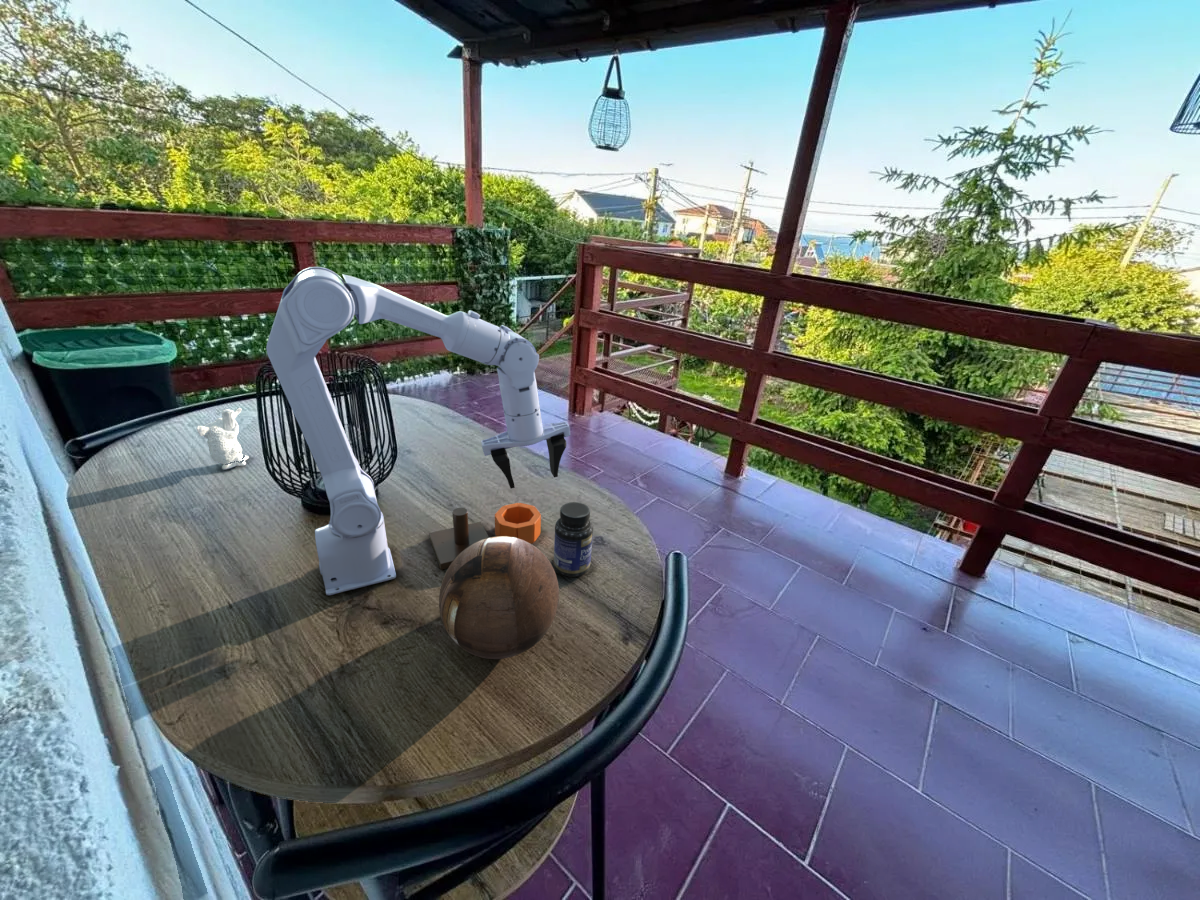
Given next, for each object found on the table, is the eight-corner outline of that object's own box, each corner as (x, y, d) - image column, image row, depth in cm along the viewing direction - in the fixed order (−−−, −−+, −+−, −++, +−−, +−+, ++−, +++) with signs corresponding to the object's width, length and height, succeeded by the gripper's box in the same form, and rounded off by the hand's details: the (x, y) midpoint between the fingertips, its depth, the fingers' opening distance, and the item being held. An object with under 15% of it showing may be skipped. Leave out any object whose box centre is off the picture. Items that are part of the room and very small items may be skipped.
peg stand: (441, 569, 76) (437, 532, 73) (429, 538, 83) (425, 503, 80) (496, 555, 80) (495, 519, 77) (480, 526, 87) (479, 492, 84)
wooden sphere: (540, 589, 74) (542, 507, 67) (571, 667, 61) (578, 575, 55) (438, 611, 68) (429, 524, 62) (450, 702, 56) (441, 604, 49)
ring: (504, 550, 82) (504, 531, 80) (490, 526, 87) (490, 508, 86) (545, 540, 85) (546, 521, 83) (530, 517, 91) (530, 499, 89)
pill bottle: (585, 581, 76) (589, 523, 71) (548, 574, 77) (550, 516, 72) (593, 557, 82) (598, 502, 77) (559, 551, 83) (561, 496, 78)
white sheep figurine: (248, 453, 105) (234, 402, 100) (263, 463, 102) (249, 410, 97) (202, 466, 99) (185, 412, 94) (216, 477, 96) (199, 422, 91)
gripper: (558, 391, 82) (566, 459, 88) (472, 408, 78) (487, 478, 84) (570, 406, 76) (578, 478, 83) (479, 426, 72) (494, 499, 79)
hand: (533, 479), depth 83 cm, fingers open, 7 cm apart
